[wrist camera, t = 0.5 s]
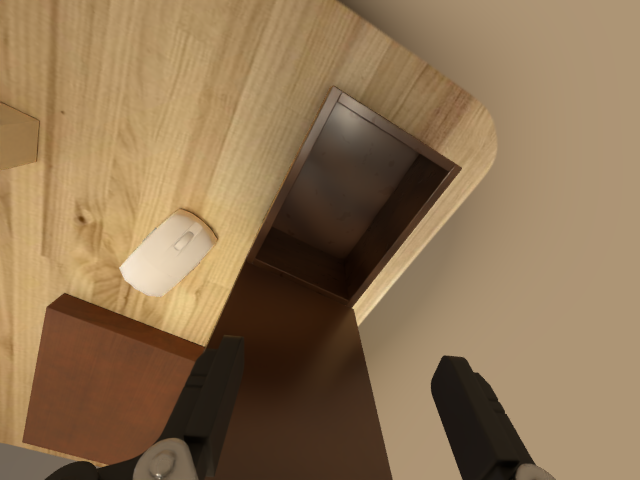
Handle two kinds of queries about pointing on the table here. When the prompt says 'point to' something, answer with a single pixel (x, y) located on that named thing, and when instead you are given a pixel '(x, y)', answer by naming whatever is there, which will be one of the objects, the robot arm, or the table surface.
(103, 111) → the table surface
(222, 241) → the table surface
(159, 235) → the computer mouse
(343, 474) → the lid
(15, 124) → the block
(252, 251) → the chest
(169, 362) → the brown flat wooden slab
